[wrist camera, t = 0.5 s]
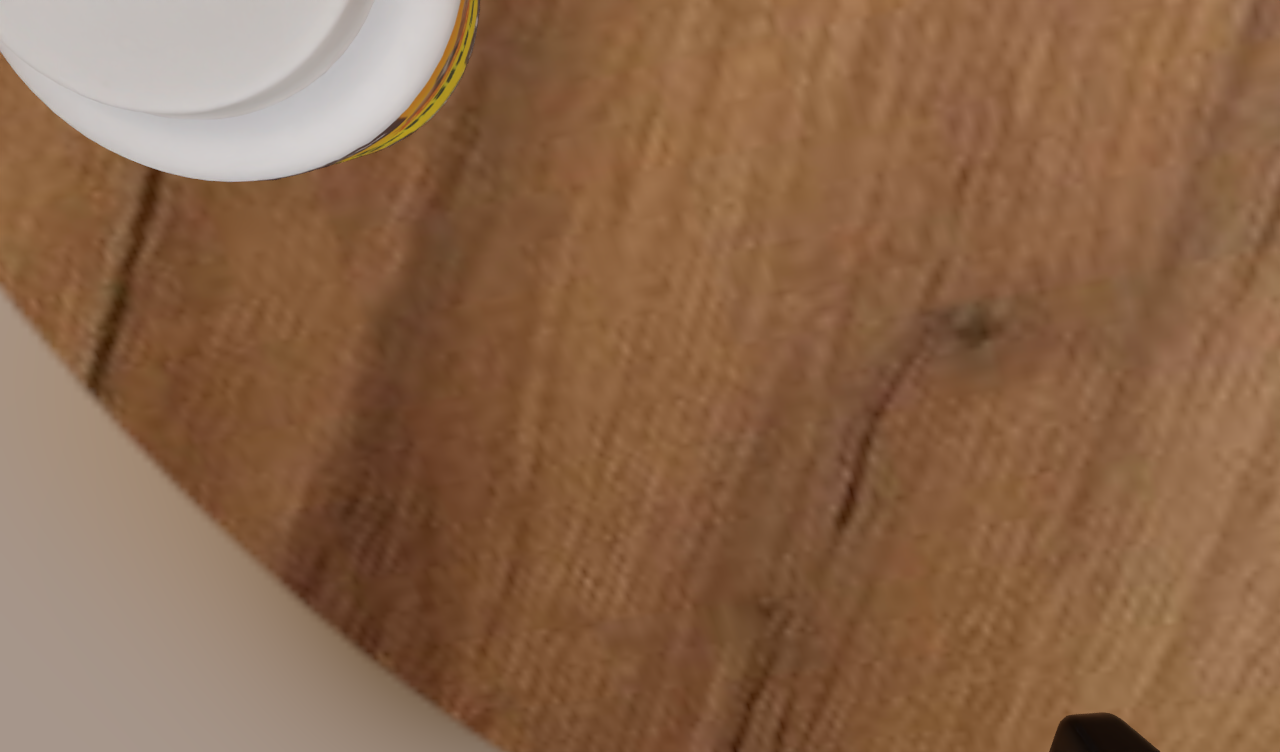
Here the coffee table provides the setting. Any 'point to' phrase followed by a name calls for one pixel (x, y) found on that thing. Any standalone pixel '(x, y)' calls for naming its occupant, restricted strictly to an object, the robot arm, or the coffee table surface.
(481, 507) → the coffee table surface
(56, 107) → the supplement bottle
